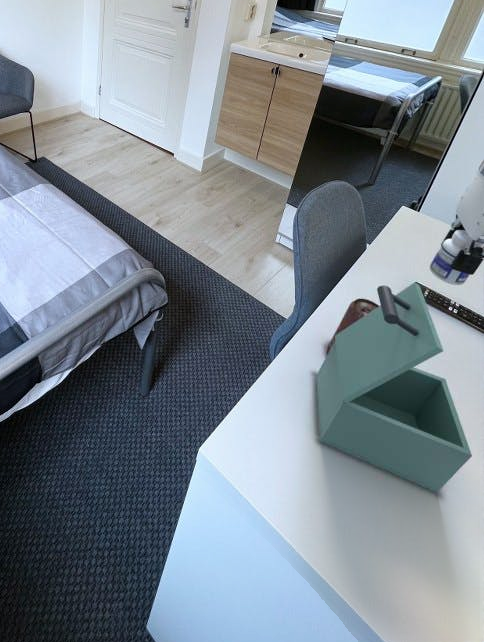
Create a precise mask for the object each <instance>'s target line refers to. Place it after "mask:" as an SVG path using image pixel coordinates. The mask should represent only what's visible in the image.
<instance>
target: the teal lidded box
mask: <svg viewBox="0 0 484 642" xmlns="http://www.w3.org/2000/svg"><path fill="white" fill-rule="evenodd" d="M315 380H316V381H315V382H316V395H317V396H316V397H317V412H318V413H317V417H318V432H319V433H318V434H319V442H321V443H324V444H325V445H328V446H330V447H333V448H335V449H337V450H339V451H342V452H344V453H346V454H348V455H351V456H353V457H356V458H358V459H360V460H362V461H364V462H367V463H369V464H371V465H373V466H376V467H378V468H380V469H383V470H385V471H387V472H390V473H392V474H394V475H396V476H398V477H401V478H403V479H405V480H408V481H410V482H412V483H414V484H416V485H419V486H422V487H424V488H426V489H428V490H431V491H433V492H434V493H439V491H440V490H441V489H443V487H445V486H446V484H447V483H448V482H449V481H450V480H451V479H452V478H453V477H454V476H455V475H456V473H458V471H459V470H460V469H461V468H462V467H464V465H465V464H466V463H467V462H468V461H469V460H470V459H471V458H472V457H473V455H472V451H471V449H470V446H469V443H468V440H467V437H466V434H465V431H464V428H463V425H462V423H461V420H460V417H459V414H458V411H457V409H456V405H455V403H454V399H453V397H452V394H451V391H450V389H449V386H448V382H447V380H446V378H444V377H441V376H438V375H435V374H432V373H431V372H428V371H424V370H422V369H419V368H417V367H413V368H411V369H409V370H407V371H405V372H404V373H402V374H400V375H398V376H396V377H394V378H392V379H391V380H389V381H387V382H385V383H383V384H381V385H379V386H377V387H376V388H374V389H372V390H370V391H368V392H366V393H364V394H363V395H361V396H359V397H357V398H355V399H353V400H351V401H350V402H348V403H345V402H344V401H343V400H342V396H341V387H340V378H339V369H338V360H337V351H336V342H334V344H333V346H332V347H331V349H330V351H329V353H328V352H327V355H326V356H325V359H324V360H323V362H322V364H321V366H320V368H319V370H318V371H317V374H316V375H315Z"/></svg>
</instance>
